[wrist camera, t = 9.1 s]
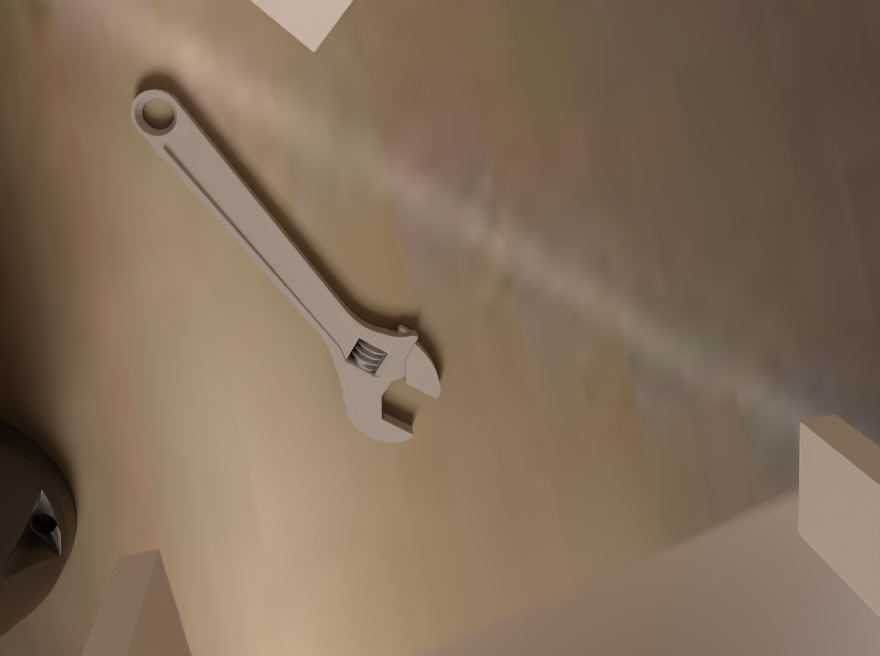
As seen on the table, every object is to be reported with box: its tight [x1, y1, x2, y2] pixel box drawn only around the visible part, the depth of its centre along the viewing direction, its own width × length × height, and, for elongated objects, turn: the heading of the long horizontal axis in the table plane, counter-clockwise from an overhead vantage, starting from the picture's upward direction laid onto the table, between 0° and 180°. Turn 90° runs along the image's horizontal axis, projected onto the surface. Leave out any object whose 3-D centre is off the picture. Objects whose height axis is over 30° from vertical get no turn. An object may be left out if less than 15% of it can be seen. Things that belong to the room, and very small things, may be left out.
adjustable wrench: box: [131, 89, 441, 443], centre depth 49 cm, size 25×6×2 cm, turn 32°
